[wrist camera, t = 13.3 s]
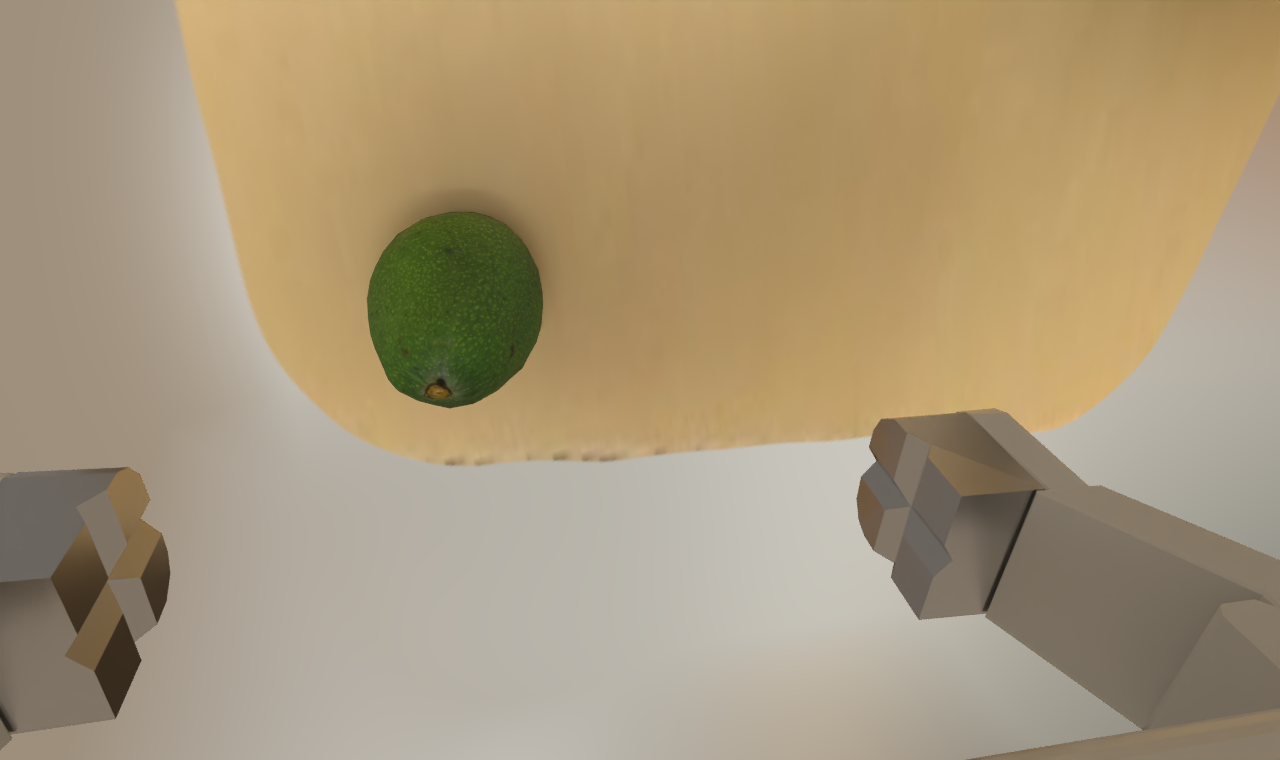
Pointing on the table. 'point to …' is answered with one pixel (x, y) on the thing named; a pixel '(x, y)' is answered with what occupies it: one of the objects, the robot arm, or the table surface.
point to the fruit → (454, 308)
